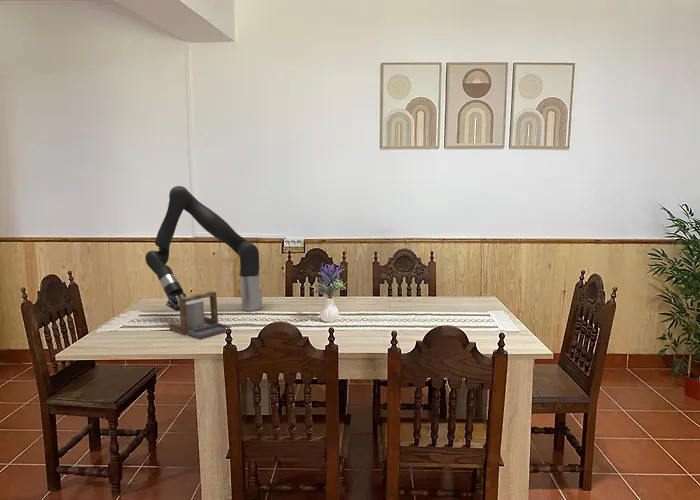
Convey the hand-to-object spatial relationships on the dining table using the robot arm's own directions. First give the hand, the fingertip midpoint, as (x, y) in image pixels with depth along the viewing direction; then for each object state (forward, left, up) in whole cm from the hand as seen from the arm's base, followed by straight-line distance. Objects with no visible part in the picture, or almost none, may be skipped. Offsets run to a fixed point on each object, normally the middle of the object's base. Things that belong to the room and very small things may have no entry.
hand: (187, 316), depth 284 cm
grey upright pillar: (0, +5, -5) cm, 7 cm away
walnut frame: (0, +5, -5) cm, 7 cm away
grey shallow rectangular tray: (0, +17, -5) cm, 18 cm away
